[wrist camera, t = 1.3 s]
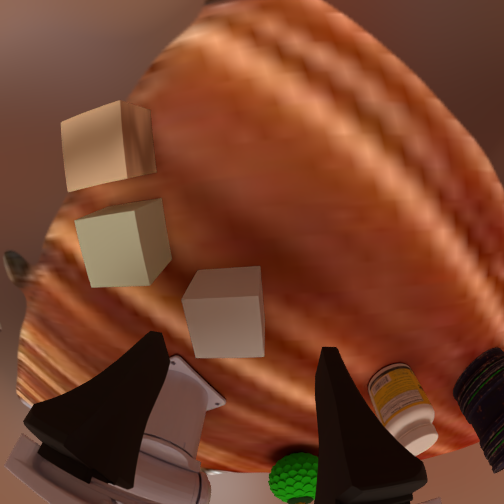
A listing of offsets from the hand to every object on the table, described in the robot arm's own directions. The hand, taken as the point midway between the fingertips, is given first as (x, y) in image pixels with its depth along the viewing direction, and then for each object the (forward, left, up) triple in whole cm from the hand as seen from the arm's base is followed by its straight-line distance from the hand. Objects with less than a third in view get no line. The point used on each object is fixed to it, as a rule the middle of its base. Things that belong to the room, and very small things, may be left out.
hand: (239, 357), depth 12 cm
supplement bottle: (+5, -20, -11) cm, 23 cm away
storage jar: (+17, -32, -11) cm, 38 cm away
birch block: (-3, +14, -11) cm, 18 cm away
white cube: (-3, -1, -11) cm, 11 cm away
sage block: (-6, +7, -11) cm, 14 cm away
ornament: (-11, -28, -11) cm, 32 cm away
